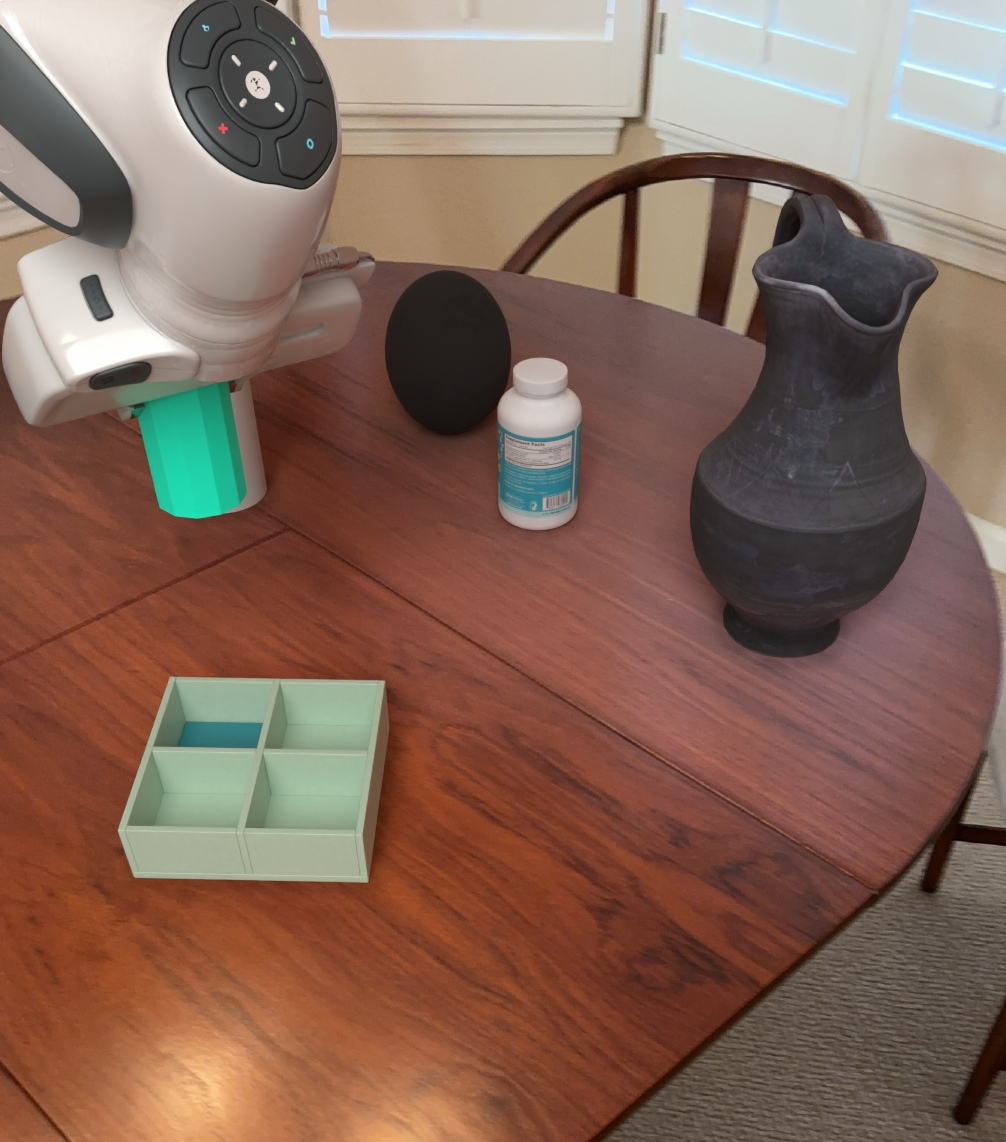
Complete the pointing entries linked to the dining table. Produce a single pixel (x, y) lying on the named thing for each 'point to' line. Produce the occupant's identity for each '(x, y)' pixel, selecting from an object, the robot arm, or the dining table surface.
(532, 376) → the pill bottle
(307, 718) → the compartment tray
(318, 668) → the dining table surface
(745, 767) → the dining table surface
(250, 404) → the cup
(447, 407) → the decorative egg
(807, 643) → the pitcher
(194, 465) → the candle
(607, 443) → the dining table surface
